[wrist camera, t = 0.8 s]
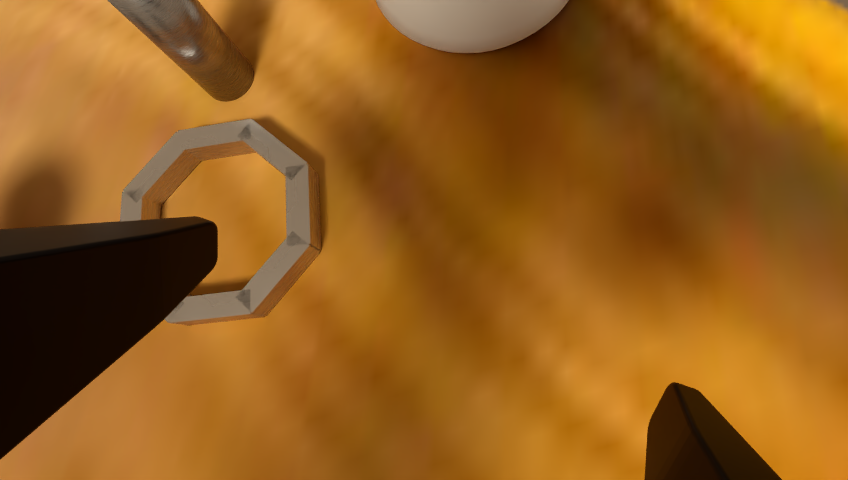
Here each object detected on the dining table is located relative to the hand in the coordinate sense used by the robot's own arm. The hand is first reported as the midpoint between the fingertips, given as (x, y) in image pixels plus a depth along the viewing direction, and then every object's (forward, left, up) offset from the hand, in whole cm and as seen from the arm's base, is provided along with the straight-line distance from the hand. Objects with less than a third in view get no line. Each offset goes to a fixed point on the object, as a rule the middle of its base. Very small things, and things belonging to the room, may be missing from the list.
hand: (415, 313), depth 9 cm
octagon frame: (+4, +15, -14) cm, 21 cm away
